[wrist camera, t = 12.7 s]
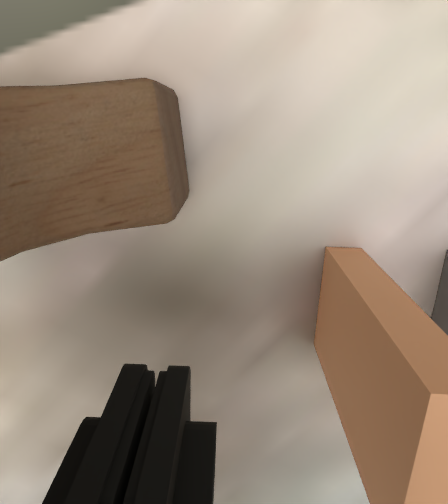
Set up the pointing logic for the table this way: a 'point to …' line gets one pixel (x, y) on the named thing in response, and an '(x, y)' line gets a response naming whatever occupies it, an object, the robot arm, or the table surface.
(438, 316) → the domino
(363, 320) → the domino
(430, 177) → the table surface
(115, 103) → the wooden block
